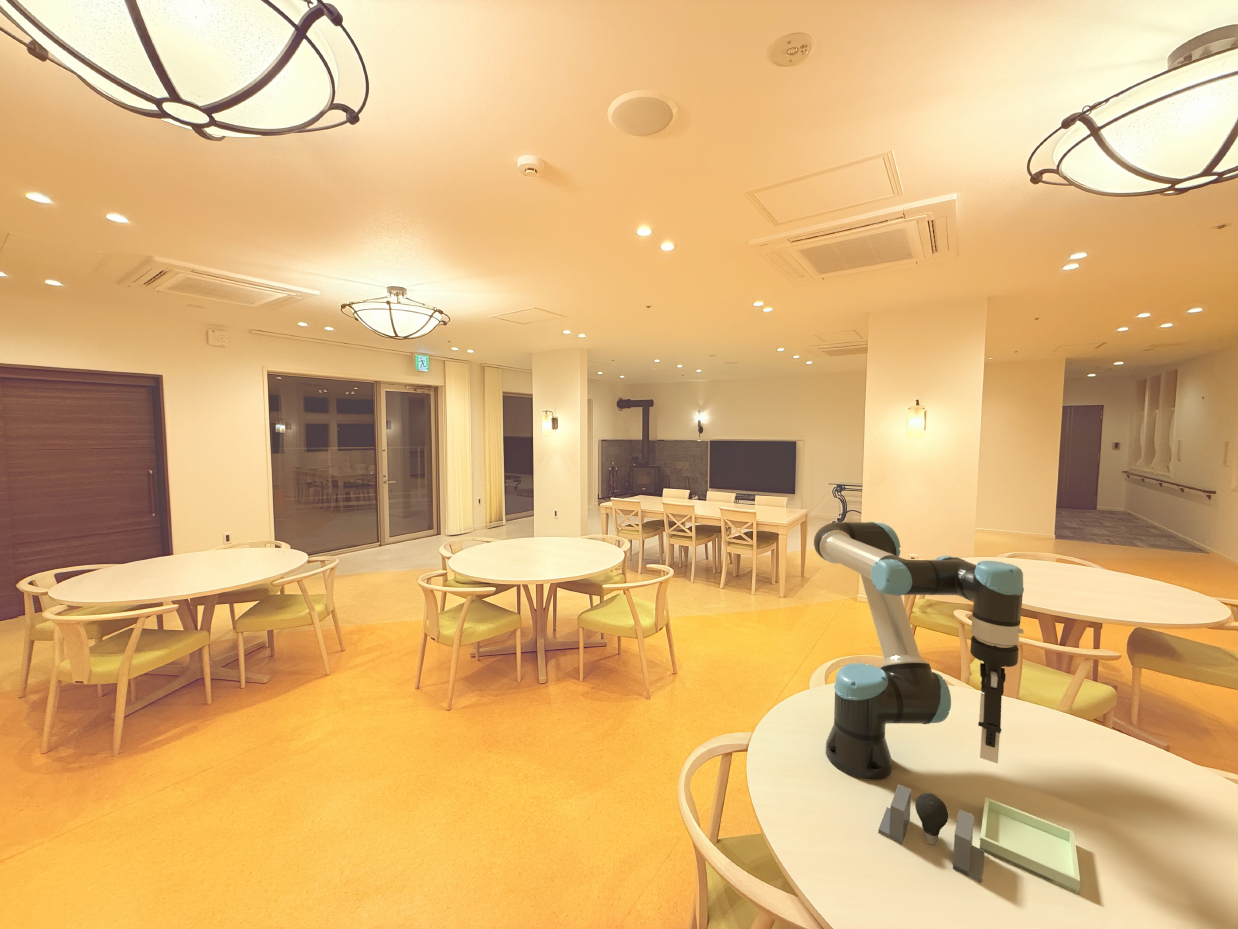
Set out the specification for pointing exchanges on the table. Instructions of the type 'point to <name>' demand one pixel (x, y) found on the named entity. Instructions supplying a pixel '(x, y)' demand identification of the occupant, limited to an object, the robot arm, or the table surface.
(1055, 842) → the tray
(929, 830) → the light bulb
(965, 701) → the table surface
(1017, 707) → the table surface
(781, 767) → the table surface
